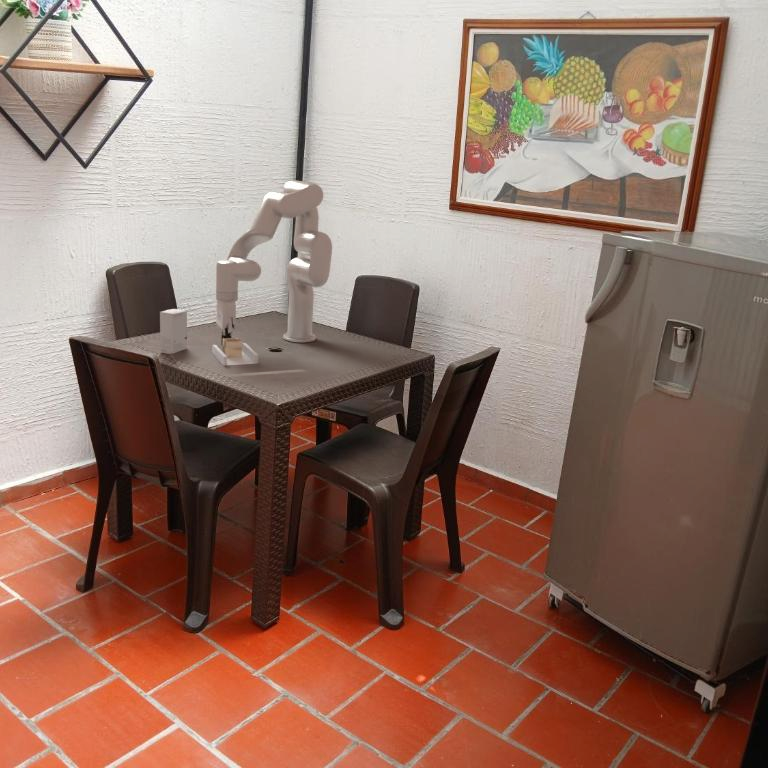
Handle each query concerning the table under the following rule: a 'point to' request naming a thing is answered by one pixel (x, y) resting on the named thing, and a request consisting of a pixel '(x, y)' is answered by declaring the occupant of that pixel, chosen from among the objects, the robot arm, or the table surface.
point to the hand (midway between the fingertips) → (226, 345)
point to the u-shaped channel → (247, 357)
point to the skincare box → (173, 331)
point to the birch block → (232, 347)
